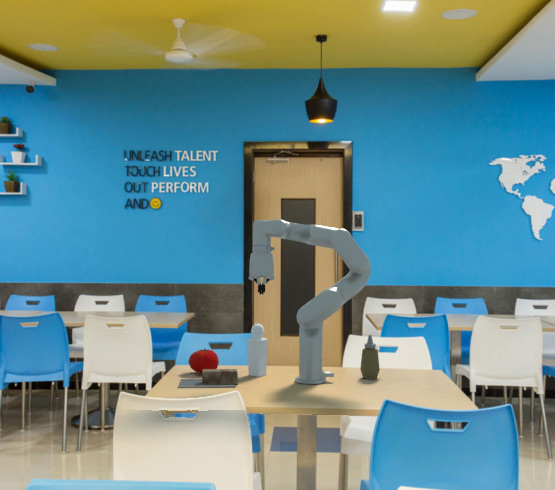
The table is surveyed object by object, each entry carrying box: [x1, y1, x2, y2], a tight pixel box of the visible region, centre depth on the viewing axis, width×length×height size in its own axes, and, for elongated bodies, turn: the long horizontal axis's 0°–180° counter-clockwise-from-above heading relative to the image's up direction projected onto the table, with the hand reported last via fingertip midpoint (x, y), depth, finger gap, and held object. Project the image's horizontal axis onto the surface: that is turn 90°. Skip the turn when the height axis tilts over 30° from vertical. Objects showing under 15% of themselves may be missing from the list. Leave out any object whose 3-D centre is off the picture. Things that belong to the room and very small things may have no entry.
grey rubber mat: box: [177, 378, 236, 389], centre depth 231 cm, size 22×14×1 cm, turn 94°
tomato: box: [188, 348, 220, 374], centre depth 253 cm, size 13×12×11 cm
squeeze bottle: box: [360, 334, 381, 380], centre depth 245 cm, size 8×8×18 cm
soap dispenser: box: [247, 323, 269, 378], centre depth 250 cm, size 6×6×22 cm
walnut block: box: [201, 368, 239, 385], centre depth 231 cm, size 5×5×14 cm
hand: (261, 294), depth 242 cm, fingers closed
